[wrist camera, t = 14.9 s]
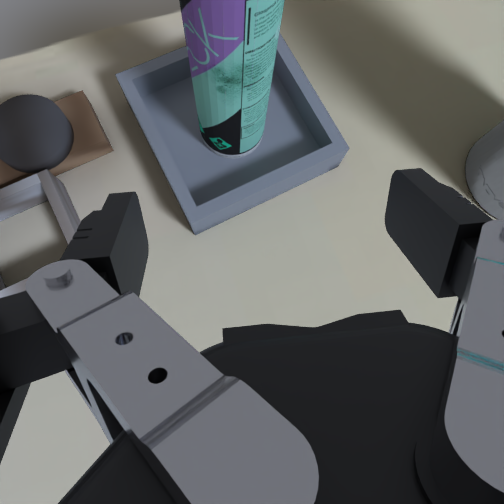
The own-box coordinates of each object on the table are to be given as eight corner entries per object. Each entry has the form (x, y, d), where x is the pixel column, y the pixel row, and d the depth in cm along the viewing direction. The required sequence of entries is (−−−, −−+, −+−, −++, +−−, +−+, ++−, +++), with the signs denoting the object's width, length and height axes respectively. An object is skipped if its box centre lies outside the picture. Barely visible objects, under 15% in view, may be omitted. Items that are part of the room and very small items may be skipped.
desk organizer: (88, 99, 34) (72, 73, 31) (157, 241, 32) (148, 230, 29) (-69, 163, 32) (-104, 144, 29) (-8, 319, 30) (-39, 317, 27)
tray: (264, 42, 36) (267, 12, 33) (337, 166, 34) (349, 148, 31) (126, 100, 34) (115, 74, 31) (195, 235, 32) (190, 223, 29)
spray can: (231, 89, 34) (229, -236, 15) (276, 129, 34) (338, -154, 14) (186, 129, 33) (121, -163, 14) (232, 171, 33) (234, -71, 13)
